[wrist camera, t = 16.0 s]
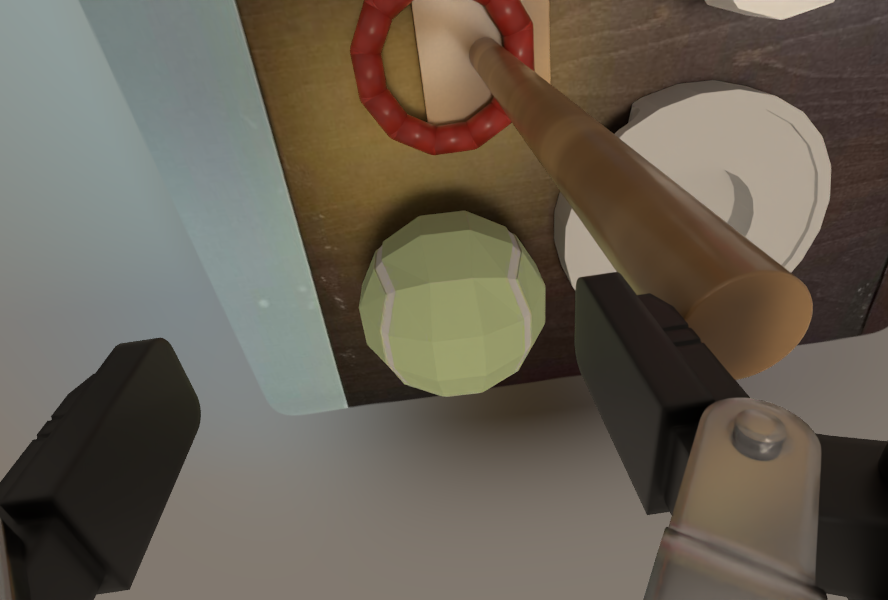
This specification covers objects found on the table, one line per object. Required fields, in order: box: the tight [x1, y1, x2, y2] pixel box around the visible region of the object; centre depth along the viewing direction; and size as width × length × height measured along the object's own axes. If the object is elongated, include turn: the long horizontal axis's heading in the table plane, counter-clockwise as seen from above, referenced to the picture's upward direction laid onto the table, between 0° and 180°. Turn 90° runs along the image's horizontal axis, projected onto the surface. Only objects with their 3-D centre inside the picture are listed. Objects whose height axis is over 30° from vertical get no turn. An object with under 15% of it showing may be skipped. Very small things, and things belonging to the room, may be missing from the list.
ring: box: [350, 0, 535, 155], centre depth 39 cm, size 13×13×2 cm
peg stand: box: [411, 0, 813, 380], centre depth 25 cm, size 10×10×38 cm
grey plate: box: [554, 80, 831, 291], centre depth 48 cm, size 23×23×4 cm
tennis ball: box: [359, 211, 545, 397], centre depth 44 cm, size 15×15×15 cm
